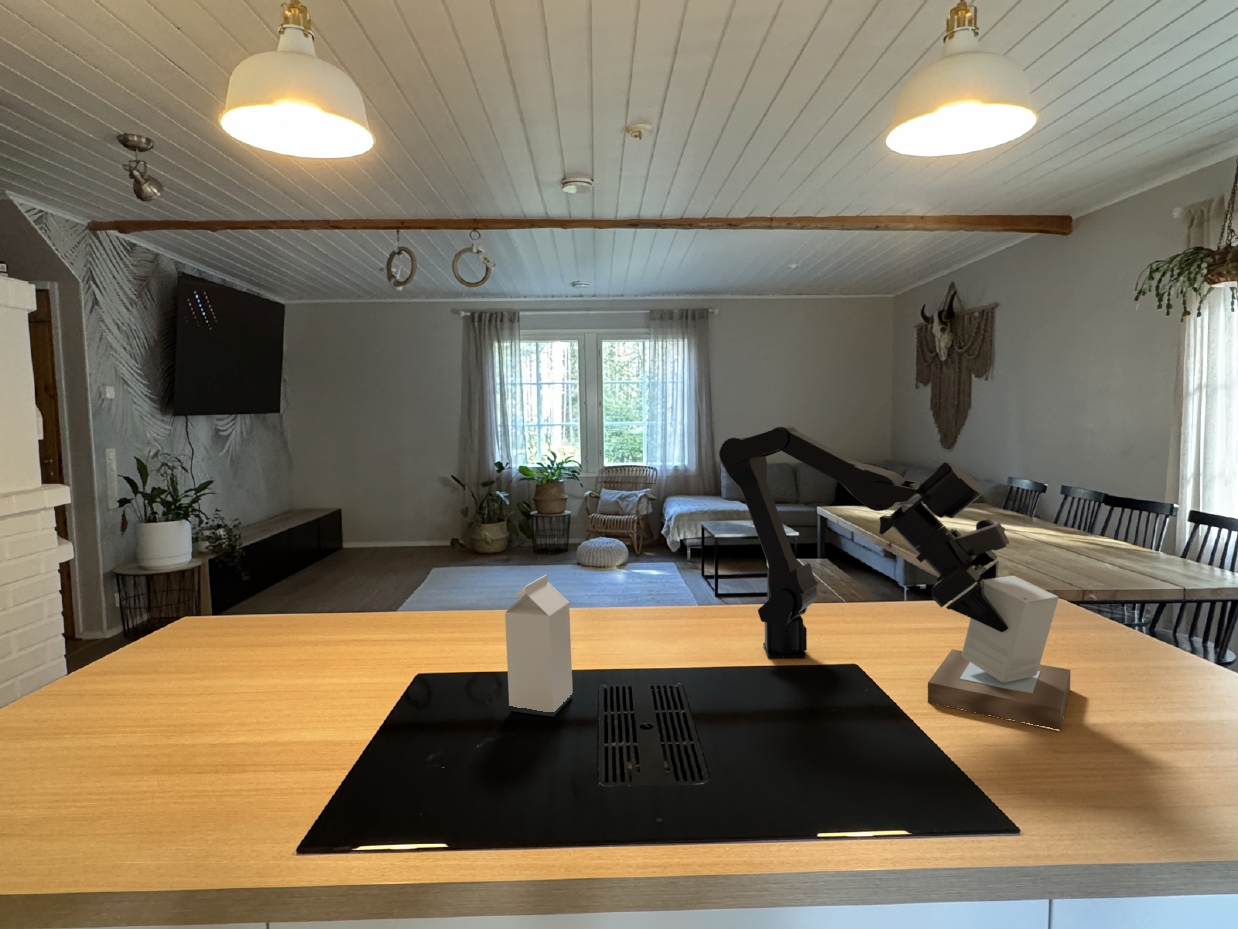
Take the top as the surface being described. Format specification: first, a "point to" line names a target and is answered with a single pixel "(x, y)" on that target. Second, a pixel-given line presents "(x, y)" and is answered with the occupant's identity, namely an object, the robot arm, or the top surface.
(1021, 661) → the supplement box
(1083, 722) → the top surface
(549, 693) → the milk carton
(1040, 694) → the plinth
